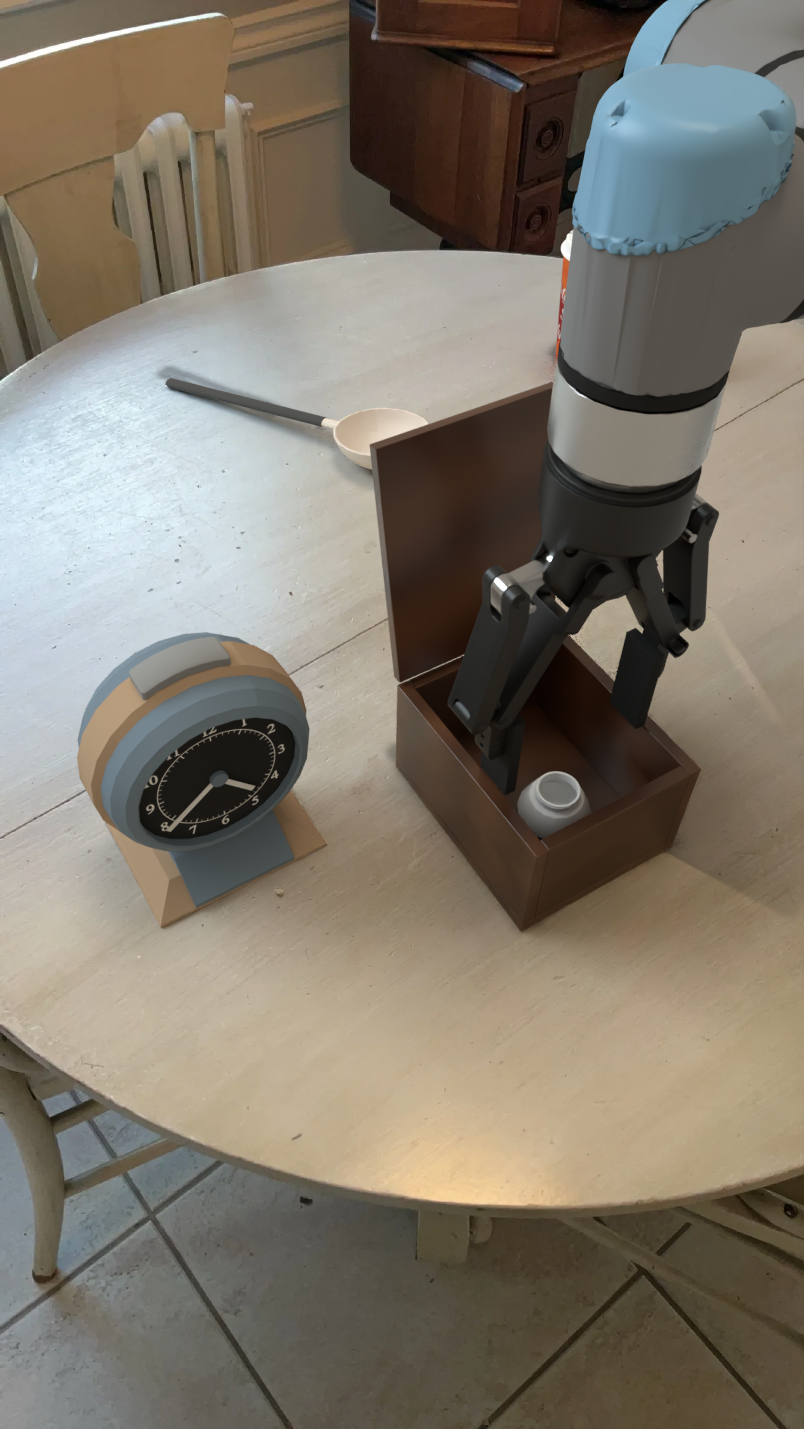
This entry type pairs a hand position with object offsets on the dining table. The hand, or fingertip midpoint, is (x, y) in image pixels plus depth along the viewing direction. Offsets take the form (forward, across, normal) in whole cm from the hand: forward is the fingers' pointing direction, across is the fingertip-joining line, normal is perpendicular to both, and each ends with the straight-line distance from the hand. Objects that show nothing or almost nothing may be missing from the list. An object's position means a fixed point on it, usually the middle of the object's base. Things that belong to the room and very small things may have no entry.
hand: (563, 744), depth 67 cm
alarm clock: (+9, +20, -11) cm, 25 cm away
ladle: (+9, -7, -51) cm, 52 cm away
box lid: (-9, 0, -11) cm, 14 cm away
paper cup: (+9, -38, -46) cm, 60 cm away
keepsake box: (+9, 0, -2) cm, 9 cm away
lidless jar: (+8, 0, 0) cm, 8 cm away
